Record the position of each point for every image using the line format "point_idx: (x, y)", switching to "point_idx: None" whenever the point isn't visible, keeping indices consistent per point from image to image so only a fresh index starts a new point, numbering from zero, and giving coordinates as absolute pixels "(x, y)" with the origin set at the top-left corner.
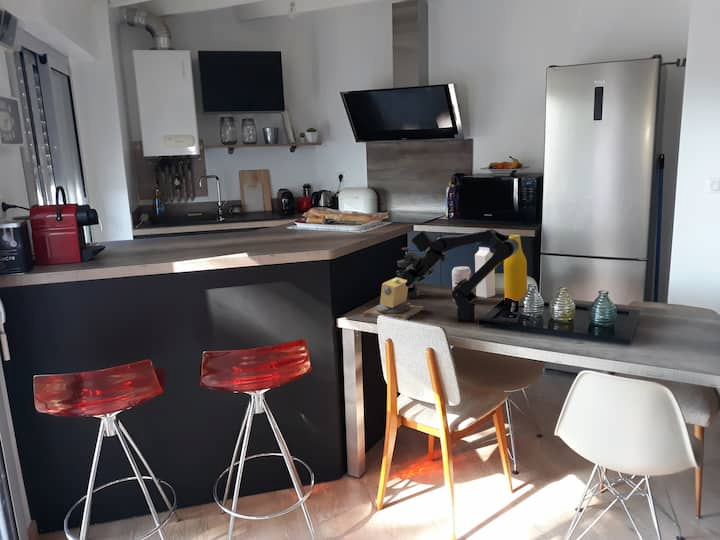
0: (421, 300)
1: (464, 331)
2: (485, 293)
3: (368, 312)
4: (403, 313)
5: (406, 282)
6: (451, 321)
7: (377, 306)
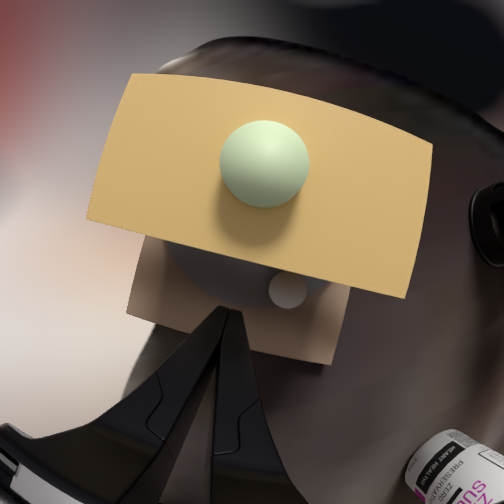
0: (463, 296)
1: None
2: None
3: None
4: (181, 289)
5: (191, 333)
6: None
7: None
